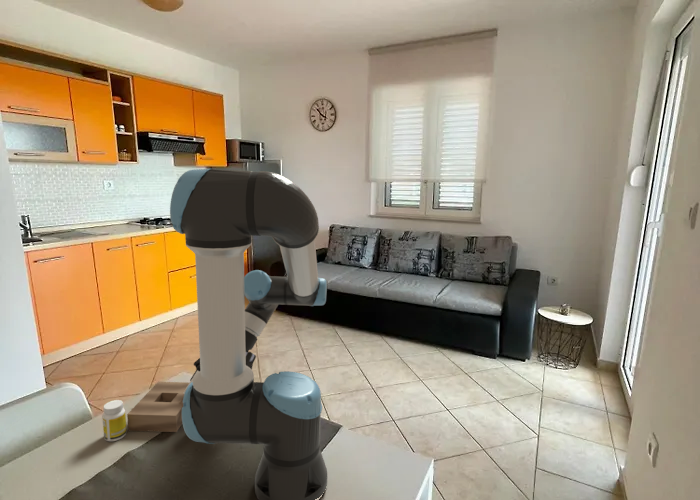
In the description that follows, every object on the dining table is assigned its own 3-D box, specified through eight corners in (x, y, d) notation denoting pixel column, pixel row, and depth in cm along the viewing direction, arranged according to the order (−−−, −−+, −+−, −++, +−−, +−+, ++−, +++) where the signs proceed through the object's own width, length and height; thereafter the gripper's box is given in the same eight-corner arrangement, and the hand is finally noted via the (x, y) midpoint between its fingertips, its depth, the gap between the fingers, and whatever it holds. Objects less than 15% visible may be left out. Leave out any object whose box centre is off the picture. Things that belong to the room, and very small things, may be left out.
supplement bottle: (131, 430, 96) (129, 399, 95) (118, 443, 92) (115, 410, 90) (113, 428, 97) (110, 398, 95) (99, 441, 92) (96, 409, 91)
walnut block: (176, 431, 96) (175, 415, 96) (128, 430, 96) (127, 414, 95) (200, 397, 112) (199, 382, 111) (158, 395, 112) (158, 381, 111)
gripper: (285, 349, 104) (243, 427, 95) (226, 326, 118) (184, 392, 109) (271, 337, 99) (224, 418, 90) (210, 315, 113) (165, 383, 103)
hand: (202, 404), depth 99 cm, fingers open, 13 cm apart
